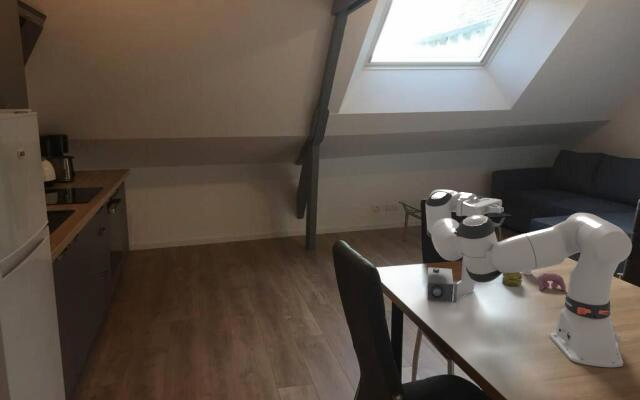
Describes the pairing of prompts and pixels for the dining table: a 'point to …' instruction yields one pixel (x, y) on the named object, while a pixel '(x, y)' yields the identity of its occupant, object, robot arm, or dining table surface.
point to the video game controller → (546, 277)
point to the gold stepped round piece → (512, 279)
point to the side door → (463, 284)
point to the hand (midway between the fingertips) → (502, 210)
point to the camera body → (440, 284)
